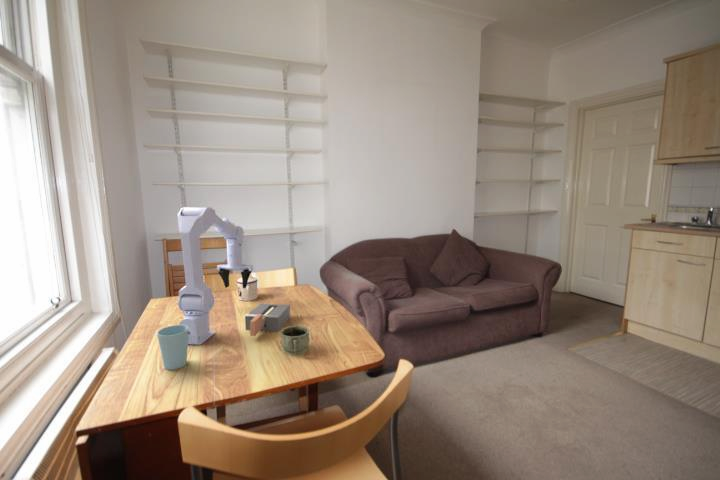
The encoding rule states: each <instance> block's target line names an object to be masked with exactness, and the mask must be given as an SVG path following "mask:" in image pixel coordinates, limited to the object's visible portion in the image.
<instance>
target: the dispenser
mask: <svg viewBox="0 0 720 480" xmlns="http://www.w3.org/2000/svg"><path fill="white" fill-rule="evenodd" d="M272 307H275V309H274V310H273V311H272V312H271V313H270V314H269V315H264V314H265V313H266V312H267V311H269V310H270V309H271V308H272ZM257 314H262V316H263V317H266V325H265V326H264V327H263V328H262V329H261V330H260V331H264V332H266V331H267V332H279V331H281V330H282V327H284V325H285V324H286V323H287V321H288V320H289V319H290V317H291V305H290V304H275V303H274V304H273V303H271V304H270V303H259V304H258V305H257V306H256V307H255V308H253V309H252V310H251V311H249V313H245V314H244V320H245V321H244V322H245V323H244V324H245V330H246V331H250V321H251V320H252V319H253V318H254V317H255V316H256V315H257Z"/></svg>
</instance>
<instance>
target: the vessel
mask: <svg viewBox="0 0 720 480" xmlns="http://www.w3.org/2000/svg"><path fill="white" fill-rule="evenodd" d="M309 332H310V330H309V328H308V327H306V326H303V325H289V326H287V327H284V328H281V329H280V334H281V335H280V337H281V340H280V344H281V346H282V348H283V349H282V351H283V353H284V354H285V355H290V356H298V355H301V354H304V353H306V352H307V351H308V346H309V343H310V336H309V335H310V333H309Z"/></svg>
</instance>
